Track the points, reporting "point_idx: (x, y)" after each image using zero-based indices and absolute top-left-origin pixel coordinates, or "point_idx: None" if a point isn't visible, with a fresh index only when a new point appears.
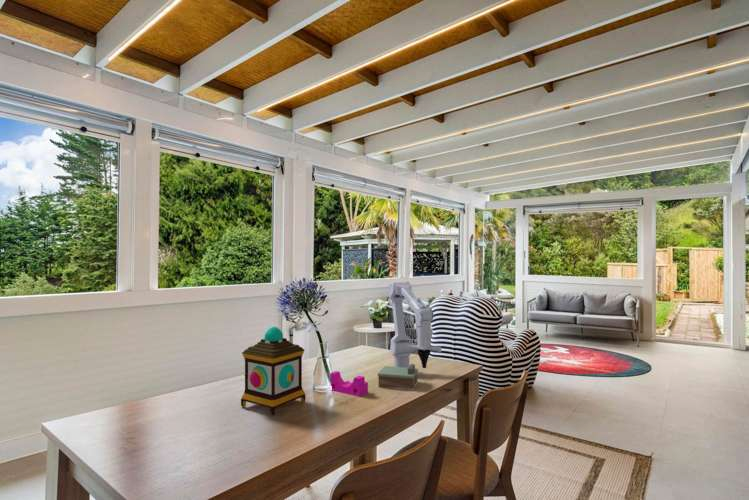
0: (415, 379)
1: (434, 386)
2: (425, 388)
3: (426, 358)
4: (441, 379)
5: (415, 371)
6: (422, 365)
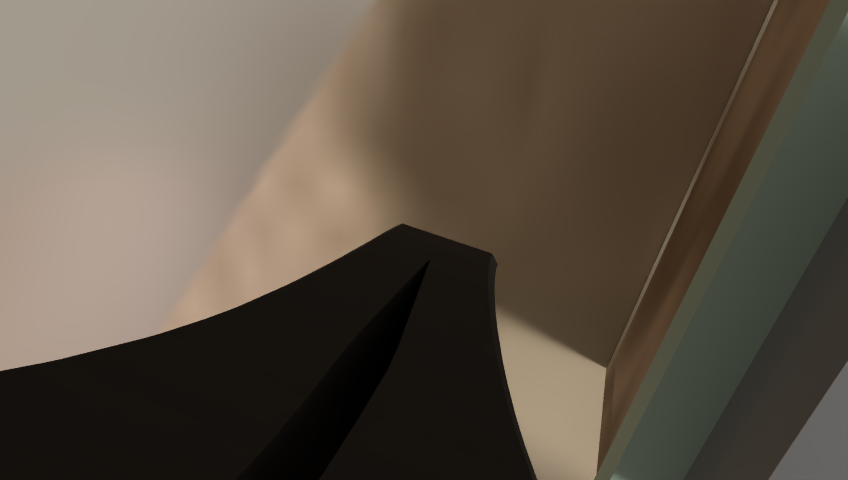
0: (690, 248)
1: (344, 121)
2: (518, 8)
3: (167, 355)
4: None
5: (695, 361)
6: (483, 278)
